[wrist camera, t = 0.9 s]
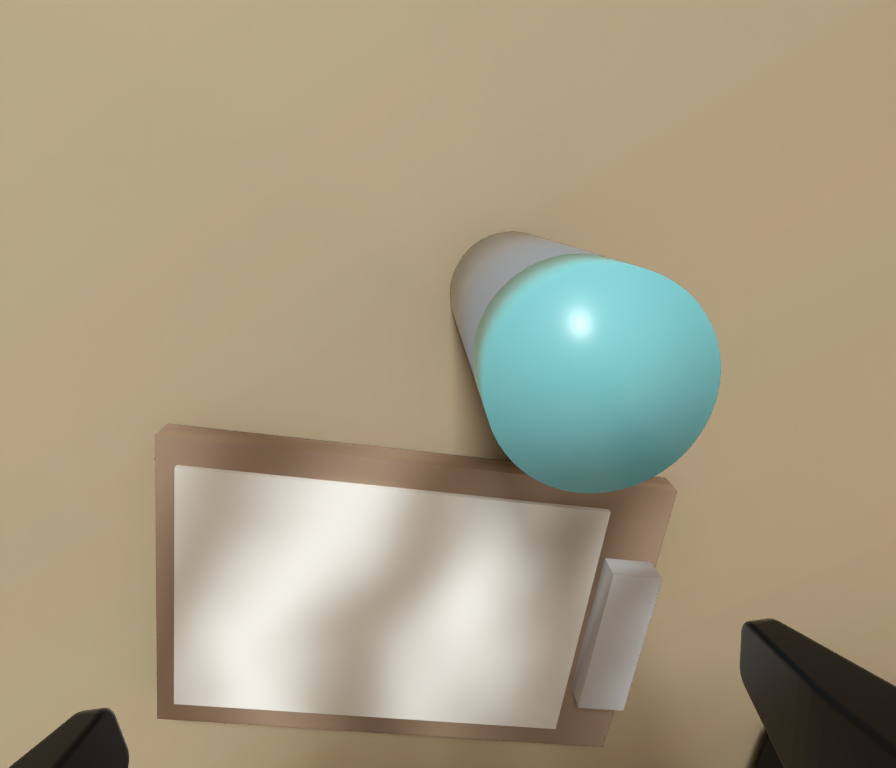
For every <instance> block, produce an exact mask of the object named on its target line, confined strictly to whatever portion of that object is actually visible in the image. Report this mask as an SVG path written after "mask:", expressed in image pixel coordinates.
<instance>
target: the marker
mask: <svg viewBox="0 0 896 768" xmlns="http://www.w3.org/2000/svg"><path fill="white" fill-rule="evenodd" d="M450 303H451V308H452V312H453V315H454V318H455V321H456V324H457V327H458V330H459V333H460V336H461V339H462V342H463V345H464V348H465V351H466V354H467V357H468V360H469V363H470V366H471V369H472V372H473V375H474V379H475V382H476V385H477V388H478V391H479V394H480V397H481V400H482V403H483V406H484V409H485V412H486V415H487V418H488V421H489V424H490V427H491V430H492V432H493V434H494V436H495V438H496V440H497V442H498V444H499V445H500V447H501V448H502V450H503V451H504V453H505V454H506V455H507V456H508V457H509V458H510V460H511V461H512V462H513V463H514V464H515V465H516V466H517V467H519V468H520V469H521V470H522V471H523V472H525V473H526V474H528V475H529V476H531V477H532V478H534V479H536V480H537V481H539V482H542V483H544V484H546V485H548V486H551V487H554V488H557V489H561V490H564V491H570V492H576V493H592V494H593V493H606V492H612V491H617V490H622V489H625V488H628V487H632V486H635V485H637V484H640V483H642V482H644V481H646V480H649V479H650V478H652V477H654V476H656V475H657V474H659V473H661V472H662V471H664V470H665V469H667V468H668V467H669V466H671V465H672V464H673V463H675V462H676V461H677V460H678V459H679V458H680V457H681V456H682V455H683V454H684V453H685V452H686V451H687V450H688V449H689V448H690V447H691V445H692V444H693V443H694V442H695V441H696V439H697V438H698V436H699V435H700V433H701V432H702V430H703V429H704V427H705V425H706V423H707V421H708V419H709V417H710V415H711V413H712V410H713V408H714V405H715V402H716V399H717V394H718V390H719V386H720V375H721V361H720V352H719V346H718V341H717V338H716V335H715V332H714V329H713V327H712V325H711V323H710V321H709V319H708V317H707V315H706V313H705V312H704V310H703V309H702V308H701V306H700V305H699V303H698V302H697V301H696V300H695V299H694V298H693V297H692V296H691V295H690V294H689V293H688V292H687V291H686V290H685V289H683V288H682V287H681V286H679V285H678V284H677V283H675V282H674V281H672V280H670V279H668V278H666V277H665V276H663V275H661V274H658V273H655V272H653V271H650V270H647V269H644V268H641V267H637V266H634V265H631V264H627V263H624V262H621V261H617V260H614V259H611V258H607V257H604V256H601V255H597V254H594V253H591V252H587V251H584V250H581V249H577V248H574V247H571V246H567V245H564V244H561V243H557V242H554V241H551V240H547V239H544V238H541V237H537V236H534V235H531V234H527V233H522V232H502V233H497V234H494V235H491V236H488V237H486V238H484V239H482V240H481V241H479V242H478V243H476V244H475V245H473V246H472V247H471V248H470V249H469V250H468V251H467V252H466V253H465V254H464V256H463V257H462V258H461V260H460V261H459V263H458V265H457V267H456V269H455V271H454V274H453V277H452V281H451V286H450Z"/></svg>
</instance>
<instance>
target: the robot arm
mask: <svg viewBox="0 0 896 768" xmlns="http://www.w3.org/2000/svg"><path fill="white" fill-rule="evenodd" d="M740 673H741V677H742V680H743V683H744V686H745V688H746V690H747V692H748V694H749V696H750V698H751V700H752V702H753V704H754V706H755V708H756V711H757V713H758V715H759V717H760V719H761V721H762V723H763V725H764V727H765V729H766V731H767V733H768V738H767V740H766V743H765V745H764V748H763V750H762V753H761V755H760V758H759V760H758V763H757V765H756V768H896V686H894V685H892V684H890V683H889V682H887V681H885V680H883V679H881V678H880V677H878V676H876V675H874V674H872V673H871V672H869V671H867V670H865V669H864V668H862V667H860V666H858V665H856V664H855V663H853V662H851V661H849V660H847V659H846V658H844V657H842V656H840V655H838V654H837V653H835V652H833V651H831V650H830V649H828V648H826V647H824V646H822V645H821V644H819V643H817V642H815V641H813V640H812V639H810V638H808V637H806V636H804V635H803V634H801V633H799V632H797V631H796V630H794V629H792V628H790V627H788V626H787V625H785V624H783V623H781V622H779V621H777V620H775V619H761V620H754V621H748V622H746V623H744V625H743V627H742V631H741V651H740ZM128 764H129V752H128V748H127V745H126V742H125V740H124V737H123V735H122V732H121V729H120V727H119V724H118V722H117V719H116V716H115V714H114V712H113V711H112V710H110V709H109V708H100V709H92V710H85V711H81V712H78V713H76V714H75V715H73V716H72V717H71V718H70V719H68V720H67V721H66V722H65V723H63V724H62V725H61V726H60V727H58V728H57V729H56V730H55V731H53V732H52V733H51V734H50V735H49V736H47V737H46V738H45V739H44V740H42V741H41V742H40V743H39V744H37V745H36V746H35V747H34V748H33V749H31V750H30V751H29V752H28V753H26V754H25V755H24V756H23V757H21V758H20V759H19V760H18V761H16V762H15V763H14V764H13V765H12V766H10V767H9V768H128Z"/></svg>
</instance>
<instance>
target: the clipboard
mask: <svg viewBox="0 0 896 768" xmlns="http://www.w3.org/2000/svg"><path fill="white" fill-rule="evenodd" d="M676 494H677V490H676V489H675V488H674V487H673V486H672V485H671V483H670V482H669V481H668V480H667V479H666V478H659V477H652V478H650V479H649V480H646V481H644V482H642V483H640V484H637V485H635V486H632V487H628V488H625V489H622V490H617V491H612V492H606V493H593V494H592V493H576V492H570V491H564V490H561V489H557V488H554V487H551V486H548V485H546V484H544V483H542V482H539V481H537V480H536V479H534V478H532V477H531V476H529V475H528V474H526V473H525V472H523V471H522V470H521V469H520V468H519V467H517V466H516V465H515V464H514V463H513V462H512V461H503V460H494V459H485V458H476V457H467V456H458V455H448V454H439V453H430V452H421V451H412V450H403V449H393V448H384V447H375V446H366V445H357V444H348V443H338V442H329V441H320V440H311V439H302V438H293V437H283V436H274V435H265V434H256V433H247V432H238V431H228V430H219V429H210V428H201V427H192V426H183V425H173V424H167V425H166V426H165V427H163V428H162V429H161V430H160V431H159V432H158V433H157V434H156V435H155V500H156V620H157V719H170V720H186V721H202V722H218V723H233V724H249V725H265V726H281V727H297V728H312V729H328V730H344V731H360V732H376V733H392V734H407V735H423V736H439V737H455V738H471V739H486V740H502V741H518V742H534V743H550V744H565V745H581V746H597V747H603V746H604V742H605V739H606V735H607V732H608V729H609V725H610V722H611V718H612V715H613V711H614V710H619V711H623V710H624V707H625V703H626V700H627V697H628V693H629V690H630V687H631V683H632V680H633V676H634V673H635V670H636V666H637V663H638V660H639V656H640V653H641V649H642V646H643V643H644V639H645V636H646V633H647V629H648V626H649V622H650V619H651V616H652V612H653V609H654V606H655V602H656V599H657V595H658V592H659V589H660V585H661V582H662V578H661V576H660V575H659V573H658V572H657V570H656V569H655V566H656V563H657V560H658V556H659V553H660V549H661V546H662V542H663V539H664V535H665V532H666V528H667V525H668V522H669V518H670V515H671V511H672V508H673V504H674V501H675V497H676Z"/></svg>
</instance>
